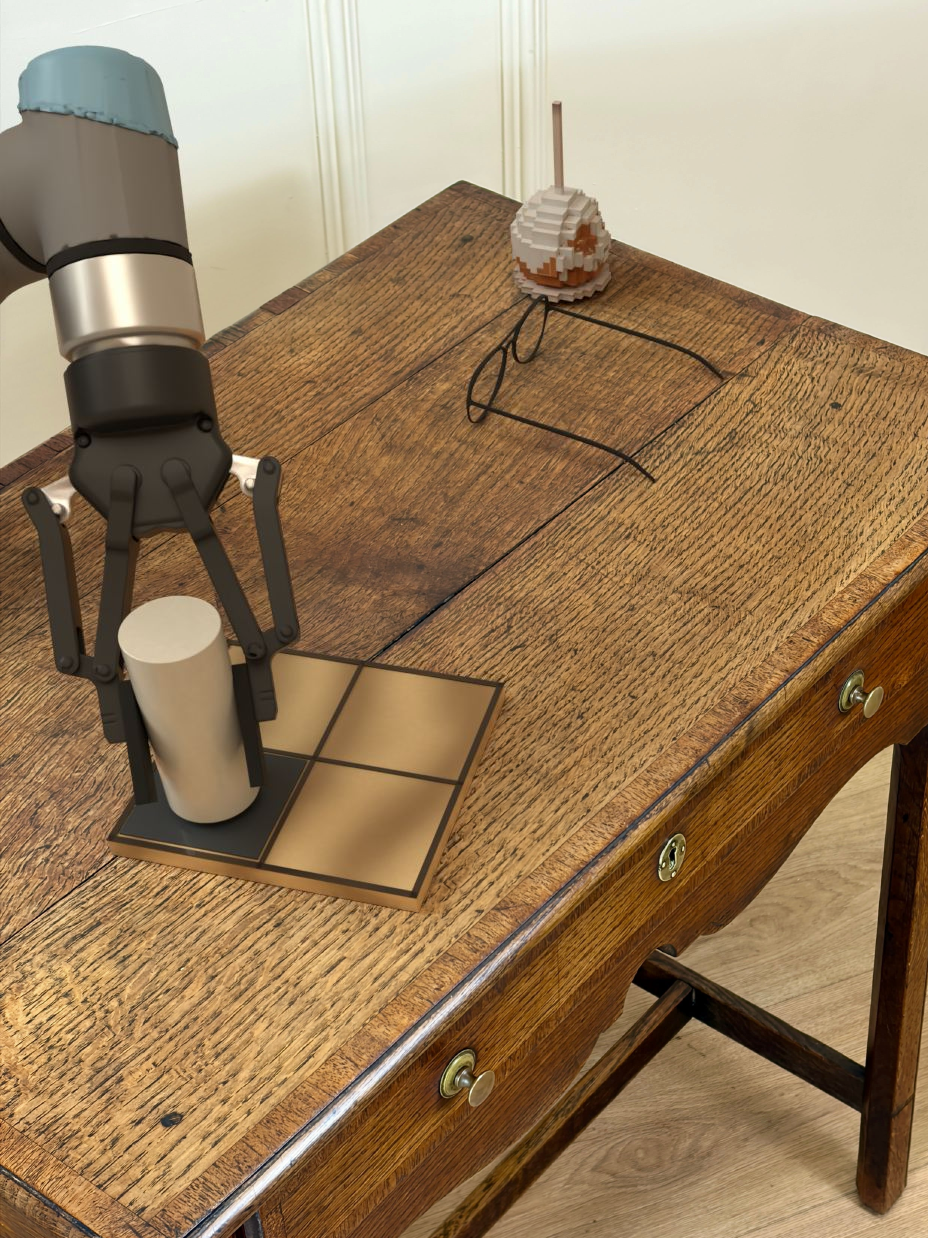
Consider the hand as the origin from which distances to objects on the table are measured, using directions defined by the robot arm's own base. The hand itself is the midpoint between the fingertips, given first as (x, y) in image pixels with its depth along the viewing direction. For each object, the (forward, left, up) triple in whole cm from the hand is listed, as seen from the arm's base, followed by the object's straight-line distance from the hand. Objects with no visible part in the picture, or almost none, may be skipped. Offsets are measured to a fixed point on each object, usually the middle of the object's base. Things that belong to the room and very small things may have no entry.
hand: (203, 793), depth 84 cm
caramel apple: (+3, +64, -6) cm, 65 cm away
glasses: (+10, +47, -6) cm, 49 cm away
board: (+3, +7, -5) cm, 10 cm away
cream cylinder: (-2, +3, -4) cm, 5 cm away
